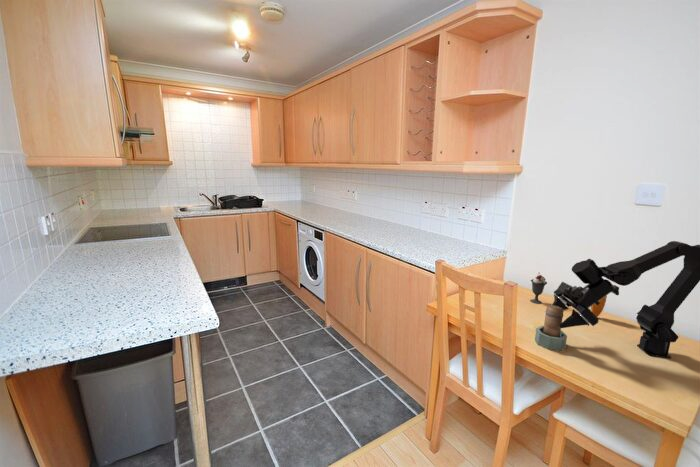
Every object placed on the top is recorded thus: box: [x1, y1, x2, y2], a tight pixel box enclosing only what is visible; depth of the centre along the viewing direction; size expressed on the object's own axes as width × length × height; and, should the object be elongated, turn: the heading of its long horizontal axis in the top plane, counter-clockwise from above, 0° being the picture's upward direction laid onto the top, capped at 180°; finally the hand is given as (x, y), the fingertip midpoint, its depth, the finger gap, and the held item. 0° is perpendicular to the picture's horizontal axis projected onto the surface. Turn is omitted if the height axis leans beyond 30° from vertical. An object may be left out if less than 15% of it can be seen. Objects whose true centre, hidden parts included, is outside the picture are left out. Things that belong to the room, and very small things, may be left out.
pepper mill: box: [543, 304, 565, 338], centre depth 111 cm, size 5×5×13 cm
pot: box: [534, 325, 568, 352], centre depth 112 cm, size 9×9×4 cm
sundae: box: [529, 273, 548, 305], centre depth 147 cm, size 7×7×15 cm
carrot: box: [590, 295, 608, 318], centre depth 131 cm, size 5×5×15 cm
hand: (553, 320), depth 110 cm, fingers open, 9 cm apart
